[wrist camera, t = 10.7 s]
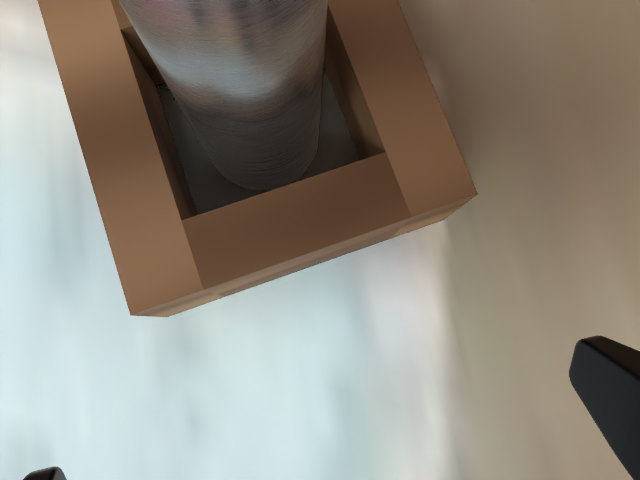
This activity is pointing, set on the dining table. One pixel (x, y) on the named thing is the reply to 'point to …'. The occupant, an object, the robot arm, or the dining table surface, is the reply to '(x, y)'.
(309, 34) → the pin
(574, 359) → the robot arm
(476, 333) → the dining table surface
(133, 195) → the socket block
